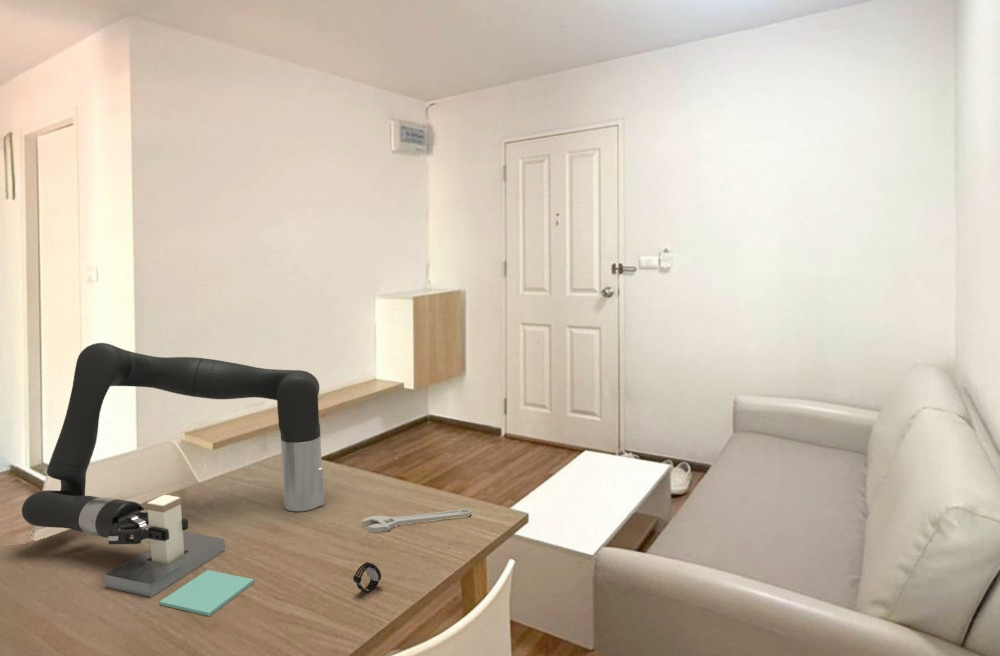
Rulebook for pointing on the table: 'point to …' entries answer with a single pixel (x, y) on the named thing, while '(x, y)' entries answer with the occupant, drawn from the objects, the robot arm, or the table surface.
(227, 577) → the mat
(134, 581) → the socket plate
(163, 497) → the post
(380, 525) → the adjustable wrench
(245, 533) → the table surface
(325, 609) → the table surface
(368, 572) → the smartwatch
